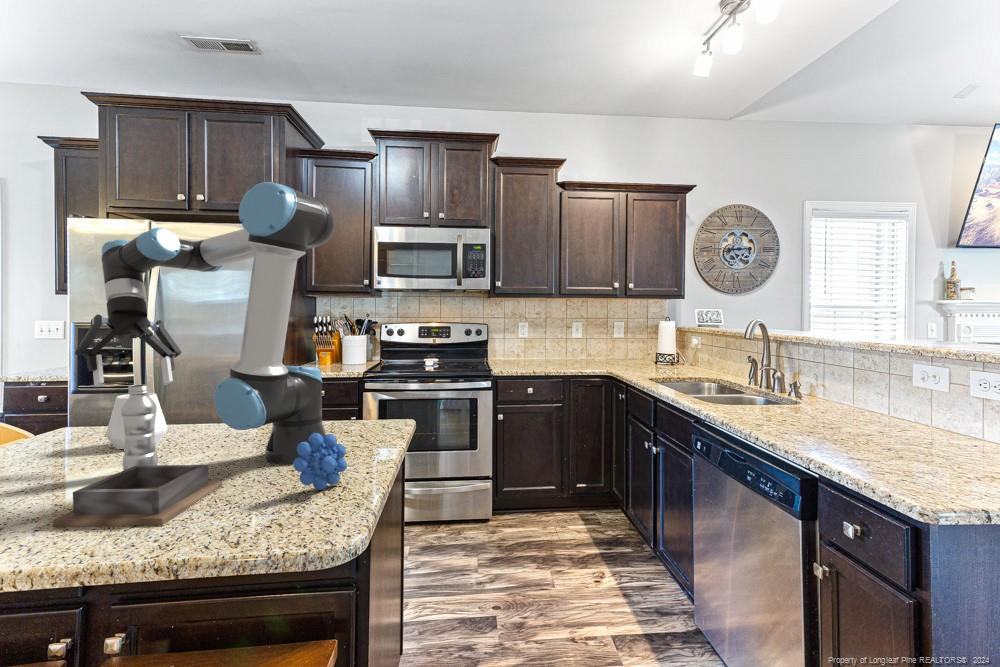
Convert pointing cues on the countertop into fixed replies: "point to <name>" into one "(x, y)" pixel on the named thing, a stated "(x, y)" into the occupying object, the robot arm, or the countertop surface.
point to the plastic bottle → (139, 428)
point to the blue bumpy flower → (320, 461)
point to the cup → (117, 426)
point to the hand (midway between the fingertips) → (135, 384)
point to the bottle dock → (139, 496)
